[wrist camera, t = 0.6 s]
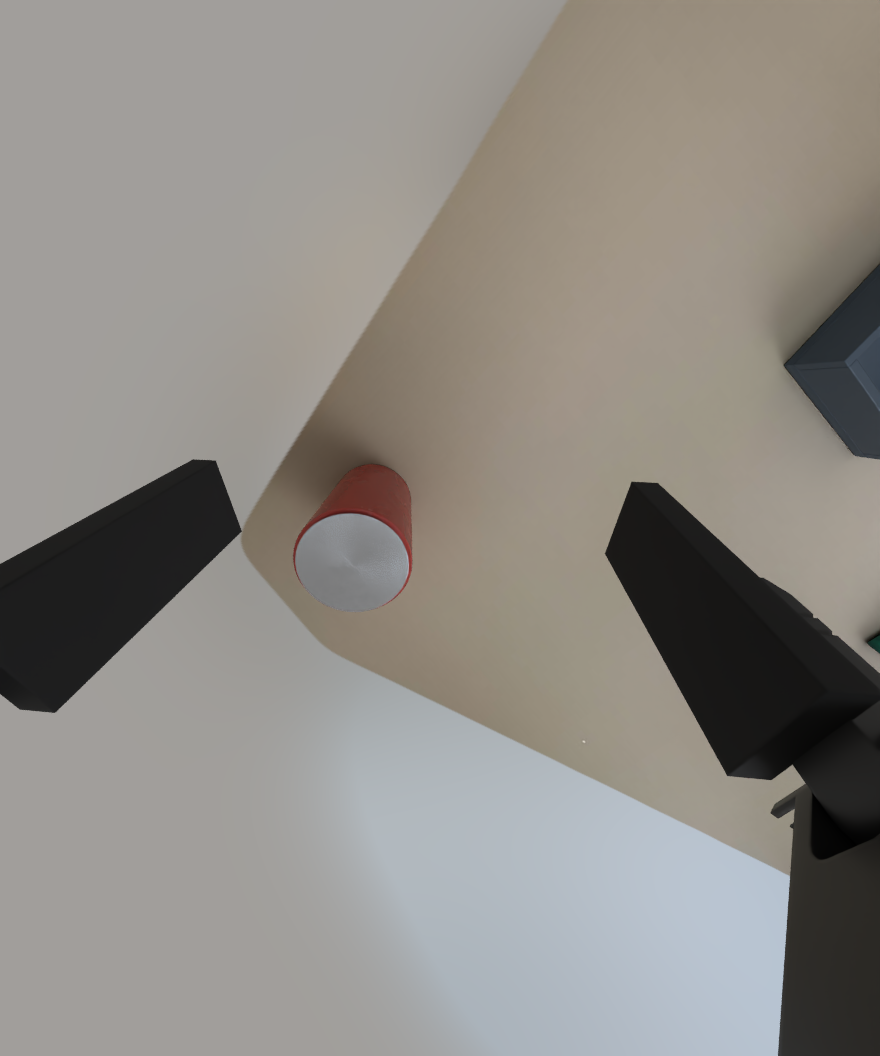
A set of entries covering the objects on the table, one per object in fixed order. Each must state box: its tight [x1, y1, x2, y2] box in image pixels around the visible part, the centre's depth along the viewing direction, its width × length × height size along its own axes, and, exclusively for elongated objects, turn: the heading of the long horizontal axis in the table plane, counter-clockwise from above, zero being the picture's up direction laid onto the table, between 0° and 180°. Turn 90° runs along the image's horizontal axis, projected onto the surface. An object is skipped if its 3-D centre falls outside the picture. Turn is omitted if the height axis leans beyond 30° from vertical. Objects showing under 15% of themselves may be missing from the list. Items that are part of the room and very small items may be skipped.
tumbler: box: [293, 464, 412, 612], centre depth 24 cm, size 7×7×12 cm
